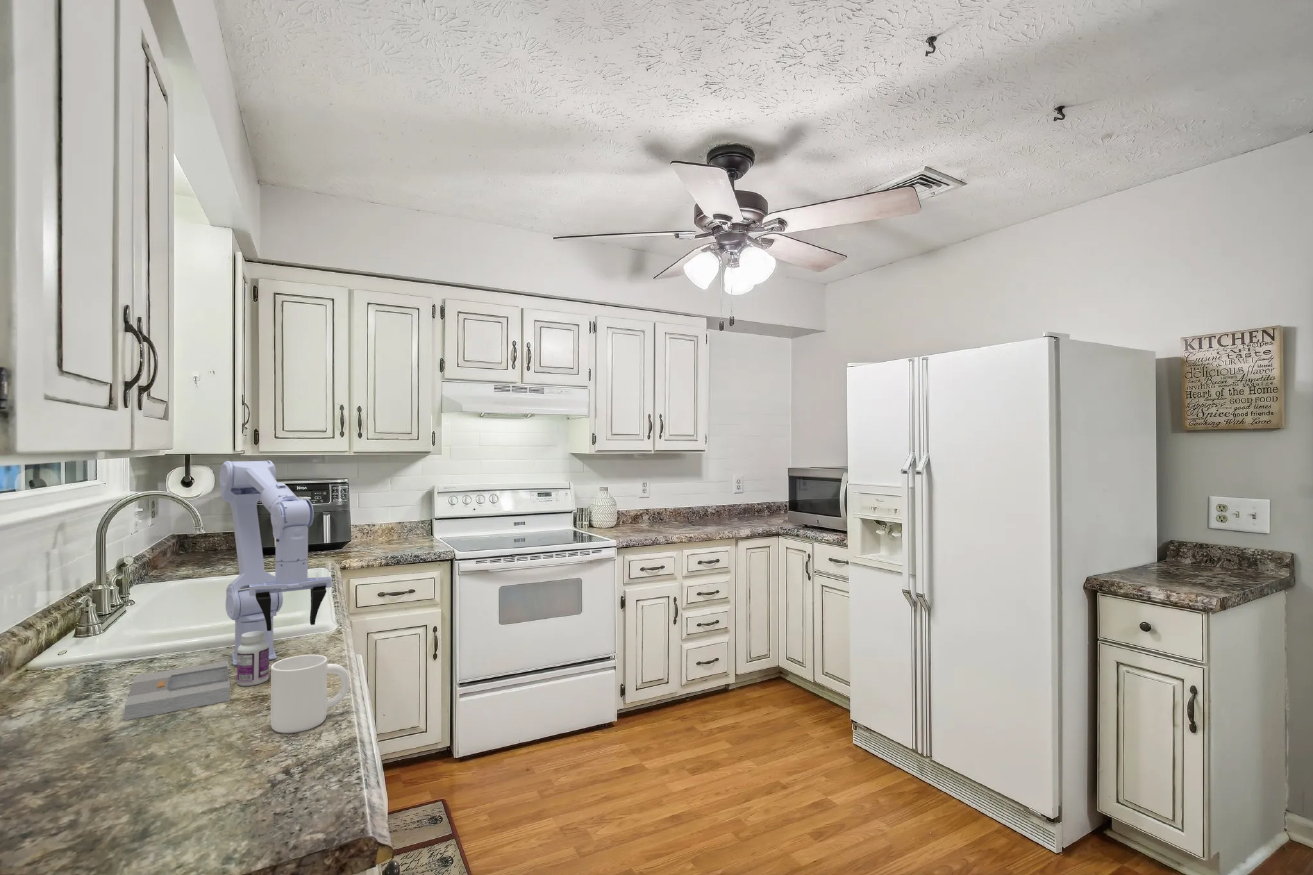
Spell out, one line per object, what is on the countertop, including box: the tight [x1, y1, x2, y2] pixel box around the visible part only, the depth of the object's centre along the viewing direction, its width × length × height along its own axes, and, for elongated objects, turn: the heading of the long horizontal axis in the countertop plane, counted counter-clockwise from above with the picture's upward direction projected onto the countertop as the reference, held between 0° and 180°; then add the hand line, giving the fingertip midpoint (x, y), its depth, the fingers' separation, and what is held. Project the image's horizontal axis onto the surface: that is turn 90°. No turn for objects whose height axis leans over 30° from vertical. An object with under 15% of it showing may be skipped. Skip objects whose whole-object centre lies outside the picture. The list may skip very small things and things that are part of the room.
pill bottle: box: [236, 631, 270, 687], centre depth 128 cm, size 5×5×10 cm
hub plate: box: [124, 660, 231, 721], centre depth 121 cm, size 18×15×3 cm
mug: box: [270, 654, 351, 734], centre depth 110 cm, size 12×8×10 cm
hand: (291, 626), depth 131 cm, fingers open, 7 cm apart
